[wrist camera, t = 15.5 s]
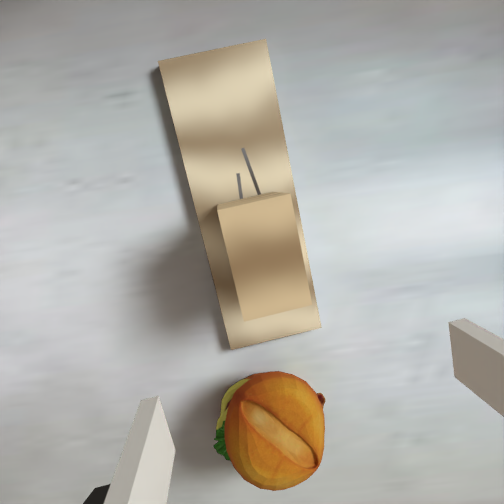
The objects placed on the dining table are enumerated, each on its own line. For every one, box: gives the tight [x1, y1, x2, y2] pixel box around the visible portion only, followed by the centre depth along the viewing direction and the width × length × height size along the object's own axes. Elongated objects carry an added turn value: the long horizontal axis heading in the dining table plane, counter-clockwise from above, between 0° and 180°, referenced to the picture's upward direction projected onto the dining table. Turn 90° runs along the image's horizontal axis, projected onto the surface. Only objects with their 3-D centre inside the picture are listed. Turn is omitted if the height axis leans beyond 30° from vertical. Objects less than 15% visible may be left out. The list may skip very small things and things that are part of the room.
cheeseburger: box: [213, 371, 325, 491], centre depth 32 cm, size 10×11×10 cm
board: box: [158, 39, 321, 350], centre depth 32 cm, size 26×9×1 cm, turn 12°
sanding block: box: [217, 192, 312, 322], centre depth 28 cm, size 8×5×8 cm, turn 12°
